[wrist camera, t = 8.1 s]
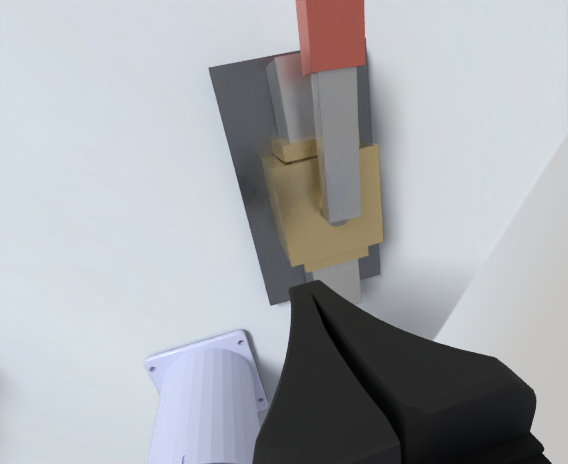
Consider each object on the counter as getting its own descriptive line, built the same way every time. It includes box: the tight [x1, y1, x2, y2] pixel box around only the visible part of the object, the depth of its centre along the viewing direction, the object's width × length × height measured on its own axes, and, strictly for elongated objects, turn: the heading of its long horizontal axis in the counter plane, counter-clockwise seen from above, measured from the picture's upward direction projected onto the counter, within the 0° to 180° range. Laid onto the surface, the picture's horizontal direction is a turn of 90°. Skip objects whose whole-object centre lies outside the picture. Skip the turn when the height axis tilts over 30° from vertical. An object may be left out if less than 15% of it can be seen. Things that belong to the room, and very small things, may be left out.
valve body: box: [209, 38, 383, 306], centre depth 18 cm, size 16×9×5 cm, turn 11°
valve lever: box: [296, 0, 365, 227], centre depth 13 cm, size 11×2×2 cm, turn 8°
